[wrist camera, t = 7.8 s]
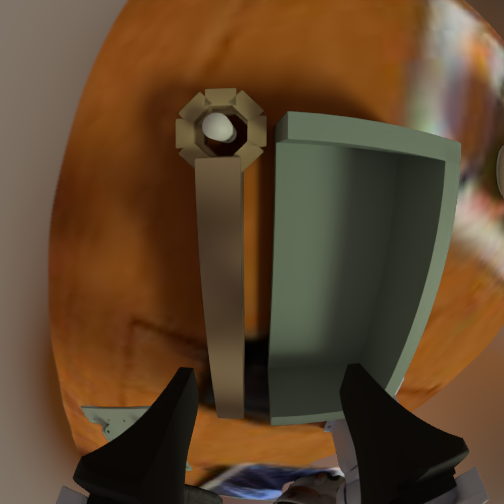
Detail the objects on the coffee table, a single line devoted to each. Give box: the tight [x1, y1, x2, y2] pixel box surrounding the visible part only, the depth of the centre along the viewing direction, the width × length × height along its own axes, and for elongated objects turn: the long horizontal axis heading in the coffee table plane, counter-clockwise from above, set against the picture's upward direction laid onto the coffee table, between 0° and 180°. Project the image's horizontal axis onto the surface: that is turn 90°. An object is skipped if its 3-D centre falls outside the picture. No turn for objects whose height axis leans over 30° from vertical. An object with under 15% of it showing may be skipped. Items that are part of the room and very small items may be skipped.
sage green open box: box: [202, 111, 461, 425], centre depth 17 cm, size 20×13×6 cm, turn 0°
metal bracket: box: [82, 406, 192, 471], centre depth 28 cm, size 14×6×15 cm
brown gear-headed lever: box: [176, 88, 267, 419], centre depth 17 cm, size 22×4×6 cm, turn 0°
